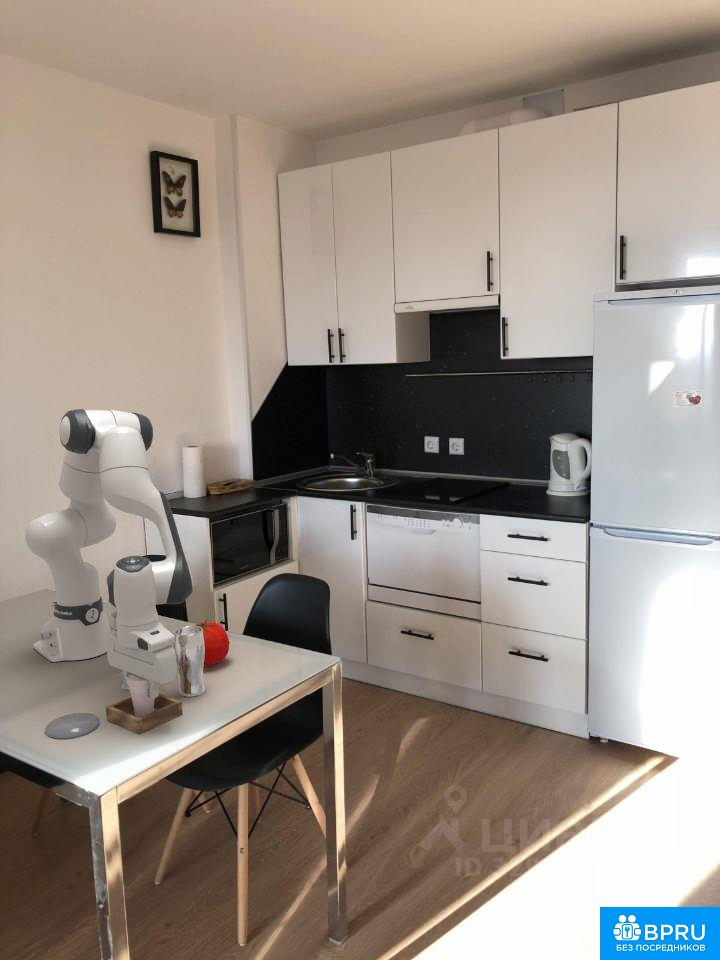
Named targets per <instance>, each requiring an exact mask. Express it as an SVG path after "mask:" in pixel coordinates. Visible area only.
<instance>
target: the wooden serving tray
mask: <svg viewBox="0 0 720 960" xmlns="http://www.w3.org/2000/svg"><path fill="white" fill-rule="evenodd" d="M154 708H157V710H155V711H154V712H152V713H150V714H147V715H145V716H143V717H141V718H137V717H136V716H135V715H132V714H130V713H132V712H135V711H134V707H133V702H132V698H131V696H130V697H127V698H125V699H122V700H120V701H118V702H114V703H112V704H111V705H108V706H106V707H105V713H106V714H105V716H106V721H108V722H109V723H112V724H115V725H116V726H119V727H121V728H123V729H126V730H128V731H130V732H132V733H134V734H137V735H141V734H143V733H145V732H148V731H151V730H152V729H155V728H156V727H158V726H162V725H163V724H166V723H167V722H169V721H171V720H174V719H175V718H177V717H180V716H183V702H182V701H181V700H179V699H175V698H173V697H171V696H168V695H165V694H163V693H160V692H158V697H156V698H154Z"/></svg>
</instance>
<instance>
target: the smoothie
mask: <svg viewBox="0 0 720 960" xmlns="http://www.w3.org/2000/svg"><path fill="white" fill-rule="evenodd" d="M126 678H127V683H128V684H129V689H128V690H129V693H130V697H131V698H132V702H133V707H134V711H133V712H134V716H135V717H137V718H141V717H143V716H145V715H147V714H150V713H152V712H154V710H155V706H154V699H152V698H150V697H148V693H147V690H148V689H150V687H151V684H149V680H148V679H145V678H142V677H140V676H137V675H134V674H132V673H131V674H129V675H128V676H127V677H126Z"/></svg>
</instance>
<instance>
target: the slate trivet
mask: <svg viewBox="0 0 720 960" xmlns="http://www.w3.org/2000/svg"><path fill="white" fill-rule="evenodd" d="M100 721H101V720H100V718H99V716H97V715H96V714H94V713H89V712H77V713H75V712H74V713H69V714H66V715H62V716H59V717H56V718H55V719H53V720H51V721H50V722H49V723H47V724H46V726H45V727H44V728H45V734H46V733H47V734H48V735H49V736H51V737H53V738H52V739H54V738H58V739H57V740H69V738H70V739H71V740H72V739H75V738H76V737H77V738H79V737H80V736H81V737H83V736H87V735H88V734H91V733H93V732H94V731H96V729H98V727H99V726H100ZM49 736H48V737H49ZM51 737H50V738H51Z"/></svg>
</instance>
